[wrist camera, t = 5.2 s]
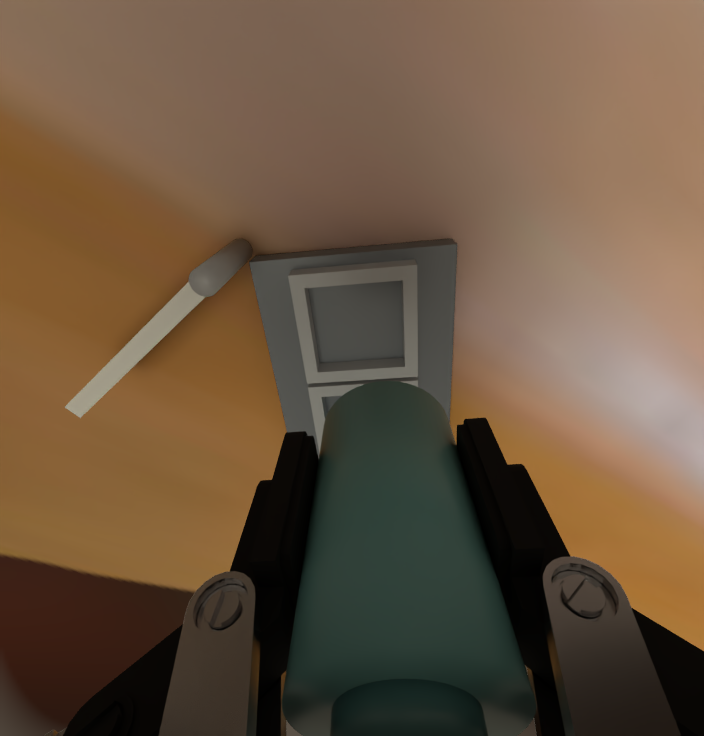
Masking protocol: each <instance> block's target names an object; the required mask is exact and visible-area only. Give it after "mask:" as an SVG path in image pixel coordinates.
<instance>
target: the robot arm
mask: <svg viewBox="0 0 704 736" xmlns="http://www.w3.org/2000/svg"><path fill="white" fill-rule="evenodd" d="M457 450H458V453H459V456H460V460H461V463H462V466H463V469H464V473H465V476H466V479H467V482H468V486H469V489H470V492H471V495H472V498H473V502H474V505H475V508H476V511H477V515H478V518H479V521H480V524H481V528H482V531H483V534H484V537H485V540H486V544H487V547H488V550H489V553H490V557H491V560H492V563H493V566H494V569H495V573H496V576H497V579H498V581H499V585H500V588H501V591H502V594H503V597H504V601H505V604H506V607H507V610H508V614H509V617H510V620H511V623H512V626H513V630H514V633H515V636H516V639H517V642H518V646H519V649H520V652H521V655H522V659H523V662H524V665H526V667H527V674H528V678H529V681H530V684H531V688H532V691H533V694H534V697H535V702H536V713H535V715H534V722H535V729H536V735H537V736H704V651H702V650H701V649H699V648H697V647H696V646H694V645H692V644H691V643H689V642H687V641H686V640H684V639H682V638H681V637H679V636H677V635H676V634H674V633H672V632H671V631H669V630H667V629H666V628H664V627H662V626H661V625H659V624H657V623H656V622H654V621H652V620H651V619H649V618H648V617H646V616H644V615H643V614H641V613H639V612H638V611H636V610H634V609H633V608H631V606H630V603H629V601H628V598H627V596H626V594H625V592H624V590H623V589H622V587H621V585H620V584H619V583H618V581H617V580H616V579H615V578H614V577H613V576H612V575H611V574H610V573H609V572H607V571H606V570H605V569H603V568H602V567H600V566H599V565H597V564H595V563H593V562H591V561H589V560H586V559H582V558H578V557H570V555H569V553H568V551H567V549H566V547H565V545H564V543H563V541H562V539H561V537H560V535H559V533H558V531H557V529H556V527H555V525H554V523H553V521H552V519H551V517H550V515H549V513H548V511H547V509H546V507H545V505H544V503H543V501H542V499H541V497H540V495H539V494H538V492H537V490H536V488H535V486H534V484H533V482H532V480H531V478H530V476H529V474H528V472H527V470H526V468H525V467H524V466H523V465H522V464H513V465H507V463H506V461H505V459H504V456H503V454H502V452H501V450H500V448H499V445H498V443H497V441H496V439H495V437H494V434H493V432H492V430H491V428H490V426H489V423H488V421H487V419H486V418H473V419H465V420H464V424H463V425H457ZM318 460H319V459H318V454H317V449H316V444H315V440H314V437H313V436H308V435H307V433H306V431H299V432H287V433H286V434H285V437H284V440H283V444H282V447H281V451H280V454H279V458H278V461H277V465H276V468H275V472H274V475H273V479H272V480H263V481H260V482H259V484H258V486H257V489H256V492H255V495H254V498H253V501H252V504H251V507H250V511H249V514H248V517H247V520H246V523H245V526H244V529H243V532H242V535H241V538H240V541H239V544H238V548H237V551H236V554H235V557H234V560H233V563H232V566H231V569H230V572H224V573H221V574H218V575H215V576H214V577H212V578H211V579H209V580H207V581H206V582H205V583H204V584H203V585H202V586H201V587H200V588H199V589H198V590H197V591H196V592H195V594H194V595H193V597H192V598H191V600H190V602H189V604H188V607H187V610H186V613H185V618H184V622H183V624H182V625H181V626H180V627H179V628H177V629H176V630H175V631H174V632H172V633H171V634H170V635H169V636H167V637H166V638H165V639H164V640H163V641H161V642H160V643H159V644H157V645H156V646H155V647H154V648H152V649H151V650H150V651H149V652H148V653H147V654H145V655H144V656H143V657H141V658H140V659H139V660H138V661H136V662H135V663H134V664H133V665H131V666H130V667H129V668H128V669H126V670H125V671H124V672H123V673H121V674H120V675H119V676H118V677H116V678H115V679H114V680H113V681H112V682H110V683H109V684H108V685H107V686H105V687H104V688H103V689H102V690H100V691H99V692H98V693H96V694H95V695H94V696H93V697H92V698H91V699H90V700H89V701H88V702H86V703H85V704H84V705H83V706H82V707H81V708H80V710H79V711H78V712H77V714H76V715H75V716H74V717H73V719H72V720H71V721H70V723H69V725H68V727H67V728H65V729H64V730H62V731H61V732H59V733H57V732H56V731H55V730H52V731H51V732H49V733H47V734H46V735H44V736H286V718H285V717H284V714H283V711H282V697H283V690H284V683H285V677H286V670H287V664H288V657H289V651H290V644H291V638H292V631H293V624H294V618H295V611H296V605H297V598H298V592H299V585H300V578H301V572H302V565H303V559H304V552H305V546H306V539H307V533H308V526H309V519H310V513H311V506H312V500H313V493H314V487H315V480H316V474H317V467H318Z"/></svg>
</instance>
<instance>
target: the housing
mask: <svg viewBox="0 0 704 736" xmlns="http://www.w3.org/2000/svg"><path fill="white" fill-rule="evenodd" d="M249 264H250V269H251V273H252V277H253V282H254V286H255V291H256V295H257V300H258V304H259V309H260V313H261V318H262V322H263V326H264V331H265V335H266V340H267V344H268V349H269V353H270V358H271V362H272V367H273V371H274V375H275V380H276V384H277V389H278V393H279V398H280V402H281V407H282V411H283V416H284V420H285V424H286V429H287V432H299V431H306V433H307V435H308V436H313V437H314V440H315V444H316V449H317V454H318V459H319V454H320V447H321V441H322V434H323V428H324V423H325V419H326V416H327V414H328V412H329V410H330V409H331V407H332V406H333V404H334V403H335V402H336V401H337V400H338V399H339V398H340V397H341V396H343V395H344V394H345V393H347V392H348V391H350V390H352V389H354V388H356V387H358V386H361V385H364V384H367V383H371V382H378V381H398V382H403V383H408V384H411V385H414V386H417V387H419V388H421V389H423V390H425V391H426V392H428V393H429V394H431V395H432V396H433V397H434V398H435V399H436V400H437V401H438V402H439V403H440V404H441V406H442V407H443V409H444V410H445V412H446V415H447V417H448V420H449V421H450V399H451V376H452V354H453V331H454V309H455V286H456V264H457V243H456V242H455V241H454V240H453V239H440V240H429V241H418V242H406V243H395V244H384V245H372V246H361V247H350V248H338V249H327V250H316V251H305V252H293V253H282V254H271V255H259V256H255V257H254V258H253V259H252V260H251V261H250V262H249Z"/></svg>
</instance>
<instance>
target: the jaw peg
mask: <svg viewBox="0 0 704 736" xmlns="http://www.w3.org/2000/svg"><path fill="white" fill-rule="evenodd" d="M282 711H283V714H284V717H285V718H286V720H287V721H288V723H289V724H290V725H291V726H292V727H293V728H294V729H295V730H296V731H297V732H299V733H300V734H301V735H303V736H517V735H519V734H520V733H521V732H523V730H524V729H526V728H527V727H528V725H529V724H530V723H531V721H532V720H533V718H534V715H535V713H536V702H535V697H534V694H533V691H532V688H531V684H530V681H529V678H528V675H527V671H526V668H525V665H524V662H523V659H522V655H521V652H520V649H519V646H518V642H517V639H516V636H515V633H514V630H513V626H512V623H511V620H510V617H509V614H508V610H507V607H506V604H505V601H504V597H503V594H502V591H501V588H500V585H499V581H498V579H497V576H496V573H495V569H494V566H493V563H492V560H491V557H490V553H489V550H488V547H487V544H486V540H485V537H484V534H483V531H482V528H481V524H480V521H479V518H478V515H477V511H476V508H475V505H474V502H473V498H472V495H471V492H470V489H469V486H468V482H467V479H466V476H465V473H464V469H463V466H462V463H461V460H460V456H459V453H458V450H457V446H456V443H455V440H454V437H453V433H452V430H451V427H450V424H449V420H448V417H447V415H446V412H445V410H444V409H443V407H442V406H441V404H440V403H439V402H438V401H437V400H436V399H435V398H434V397H433V396H432V395H431V394H429V393H428V392H426V391H425V390H423V389H421V388H419V387H417V386H414V385H411V384H408V383H403V382H398V381H378V382H371V383H367V384H364V385H361V386H358V387H356V388H354V389H352V390H350V391H348V392H347V393H345V394H344V395H343V396H341V397H340V398H339V399H338V400H337V401H336V402H335V403H334V404H333V406H332V407H331V409H330V410H329V412H328V414H327V416H326V419H325V423H324V428H323V434H322V441H321V447H320V454H319V460H318V467H317V474H316V480H315V487H314V493H313V500H312V506H311V513H310V519H309V526H308V533H307V539H306V546H305V552H304V559H303V565H302V572H301V578H300V585H299V592H298V598H297V605H296V611H295V618H294V624H293V631H292V638H291V644H290V651H289V657H288V664H287V670H286V677H285V683H284V690H283V697H282Z"/></svg>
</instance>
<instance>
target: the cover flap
mask: <svg viewBox="0 0 704 736" xmlns="http://www.w3.org/2000/svg"><path fill="white" fill-rule="evenodd" d="M252 253H253V251H252V247H251V245H250V244H249V243H248V242H247V241H246V240H244V239H235V240H233V241H232V242H231V243H229V244H228V245H227V246H225V247H224V248H223V249H221V250H220V251H218V252H217V253H216V254H214V255H213V256H212V257H210V258H209V259H208V260H206V261H205V262H203V263H202V264H201V265H199V266H198V267H197V268H195V269H194V270H193V271H192V272H191V273H190V275H189V282H188V283H187V284H186V285H185V286H184V287H183V288H182V289H181V290H180V291H179V292H178V293H177V294H176V295H175V296H174V297H173V298H172V299H171V300H170V301H169V302H168V303H167V304H166V305H165V306H164V307H163V308H162V309H161V310H160V311H159V312H158V313H157V314H156V315H155V316H154V317H153V318H152V319H151V320H150V321H149V322H148V323H147V324H146V325H145V326H144V327H143V328H142V329H141V330H140V331H139V332H138V333H137V334H136V335H135V336H134V337H133V338H132V339H131V340H130V341H129V343H128V344H127V345H126V346H125V347H124V348H123V349H122V350H121V351H120V352H119V353H118V354H117V355H116V356H115V357H114V358H113V359H112V360H111V361H110V362H109V363H108V364H107V365H106V366H105V367H104V368H103V369H102V370H101V371H100V372H99V373H98V374H97V375H96V376H95V377H94V378H93V379H92V380H91V381H90V382H89V383H88V384H87V385H86V386H85V387H84V388H83V389H82V390H81V391H80V392H79V393H78V394H77V395H76V396H75V397H74V398H73V399H72V400H71V401H70V402H69V403H68V404H67V405H66V406H65V408H67V409H68V410H69V411H71V412H72V413H74V414H75V415H77V416H78V417H80V418H81V417H82V416H83V415H84V414H85V413H86V412H87V411H88V410H89V409H90V408H91V407H92V406H93V405H94V404H95V403H96V402H97V401H98V400H99V399H100V398H101V397H103V396H104V395H105V394H106V393H107V392H108V391H109V390H110V389H111V388H112V387H113V386H114V385H115V384H116V383H117V382H118V381H119V380H120V379H121V378H122V377H123V376H124V375H125V374H126V373H127V372H128V371H129V370H131V369H132V368H133V367H134V366H135V365H136V364H137V363H138V362H139V361H140V360H141V359H142V358H143V357H144V356H145V355H146V354H147V353H148V352H149V351H150V350H151V349H152V348H153V347H154V346H155V345H156V344H157V343H158V342H159V341H161V340H162V339H163V338H164V337H165V336H166V335H167V334H168V333H169V332H170V331H171V330H172V329H173V328H174V327H175V326H176V325H177V324H178V323H179V322H180V321H181V320H182V319H183V318H184V317H185V316H186V315H187V314H188V313H189V312H191V311H192V310H193V309H194V308H195V307H196V306H197V305H198V304H199V303H200V302H201V301H202V300H203V299H204V298H205V297H210V296H213V295H214V294H215V293H216V292H217V291H218V290H219V289H220V288H221V287H222V286H223V285H224V284H225V283H226V282H227V281H228V280H229V279H230V278H231V277H232V276H233V275H234V274H235V273H236V272H237V271H238V270H239V269H240V268H241V267H242V266H243V265H244V264H245V263H246V262H247V261H248V260H249V259H250V258H251V257H252Z"/></svg>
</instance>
